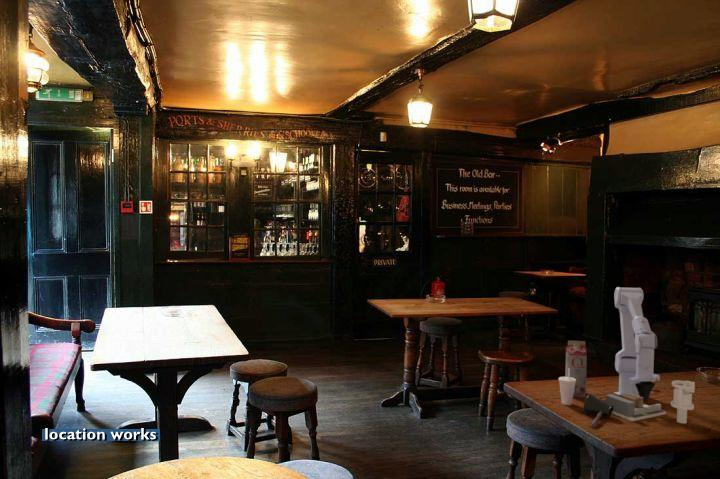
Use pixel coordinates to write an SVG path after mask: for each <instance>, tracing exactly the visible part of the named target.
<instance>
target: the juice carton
mask: <svg viewBox="0 0 720 479" xmlns="http://www.w3.org/2000/svg"><path fill="white" fill-rule="evenodd" d="M587 356H588V350H587V346H586V341H585V340H583V341H582V340H568V341H567V345H566V347H565V373H564V374H565V376H564V377H568V368H570V377H571V378H574V379H576V383H575V387H574V393H573V398H574V397H575V398H587V395H586V393H587V364H588V363H587V361H588V358H587Z"/></svg>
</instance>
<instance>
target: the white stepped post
mask: <svg viewBox="0 0 720 479" xmlns="http://www.w3.org/2000/svg"><path fill="white" fill-rule="evenodd" d="M695 383H696V382H695V381H691V380H671V386H672V387H674V389H673V400H671V401H670V406H671V407H672V408H674V409H676V423H679V424H683V425H684V424H687V423H688V422H687V421H688V411H693V410H695V405H694V404H693V401H692V400H693V399H692V398H693V394H694V393H695V390H696V389H695V388H696V386H695V385H696V384H695Z"/></svg>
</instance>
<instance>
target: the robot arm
mask: <svg viewBox="0 0 720 479" xmlns="http://www.w3.org/2000/svg"><path fill="white" fill-rule="evenodd" d="M614 289H615V290H614V294H613V295H614V296H613V298H614V299H613V300H614V307H615V308H616V309H618V312H619V319H620V321H619V322H620V331H621V333H620V334H621V347H622V348H621V350H619V351H618V352H617V353H616V354H615V357H614V358H615V361H614V368H615V371H616V372H617V373H618V375H619V376H618V377H619V378H618V391H615V392H613V395H615V396H618V397H620V394H625V393H631V394H634V395H637V396H640V397H643V403H647V402H648V400H649V398H650V396H651V392H652V390H653V388H654V387H655V386H656V385H655V383H654V382H656V381H661V380H660V379H661V378H660V376H661V375H660V374H656V373H654V367H655V366H654V362H655V361H654V360H655V350H656V349H657V347H658V337H657V335H656V334H655V333H654V331H652V329H651V327H650V323H649V320H648V319H647V318H646V317H644V313H643V308H642V303H643V302H644V301H643V300H644V297H645V296H644V291H643V289H642V288H641V287H620V286H616V288H614Z"/></svg>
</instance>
